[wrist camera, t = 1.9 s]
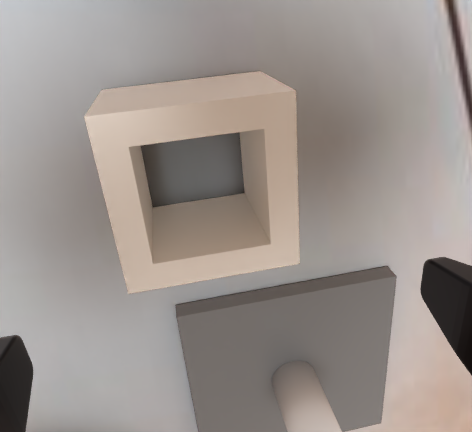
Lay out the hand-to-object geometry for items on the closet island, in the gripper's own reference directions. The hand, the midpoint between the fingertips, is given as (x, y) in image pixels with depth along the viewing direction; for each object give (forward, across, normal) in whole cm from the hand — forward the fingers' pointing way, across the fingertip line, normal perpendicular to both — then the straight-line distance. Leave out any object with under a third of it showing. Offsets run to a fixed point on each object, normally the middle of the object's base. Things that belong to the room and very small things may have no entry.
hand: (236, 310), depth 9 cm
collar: (+11, 0, 0) cm, 11 cm away
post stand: (+11, -4, +14) cm, 18 cm away
